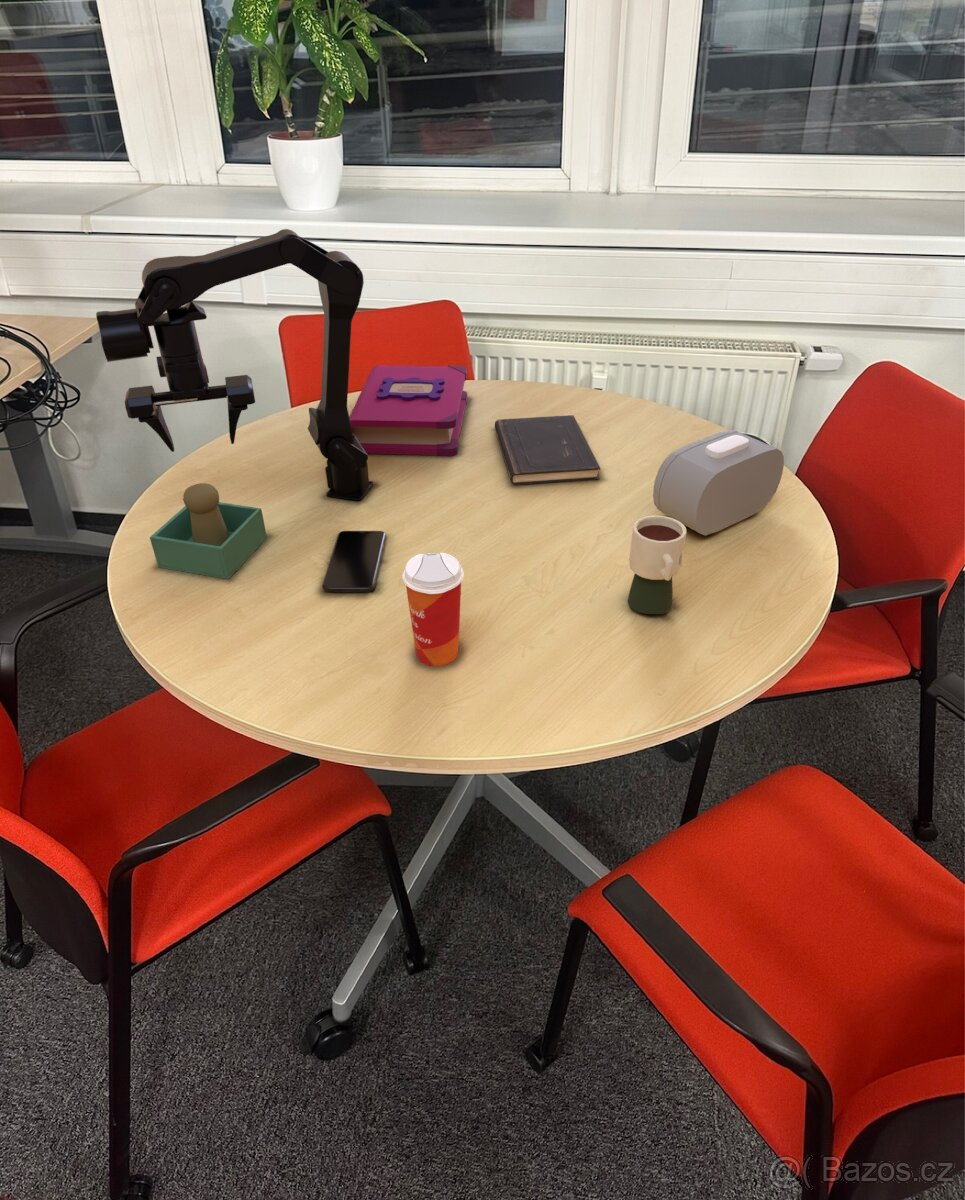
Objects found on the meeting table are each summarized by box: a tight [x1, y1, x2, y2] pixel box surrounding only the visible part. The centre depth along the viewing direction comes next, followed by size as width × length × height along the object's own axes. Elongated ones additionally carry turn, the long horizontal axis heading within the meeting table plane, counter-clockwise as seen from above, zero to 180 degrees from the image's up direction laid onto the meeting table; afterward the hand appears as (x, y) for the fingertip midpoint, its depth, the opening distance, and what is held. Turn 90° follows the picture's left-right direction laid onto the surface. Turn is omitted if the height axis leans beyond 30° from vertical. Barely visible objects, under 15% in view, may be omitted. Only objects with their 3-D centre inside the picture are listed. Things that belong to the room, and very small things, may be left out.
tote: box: [149, 501, 268, 580], centre depth 129 cm, size 12×12×6 cm
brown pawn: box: [182, 482, 230, 546], centre depth 127 cm, size 6×6×11 cm
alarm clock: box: [652, 428, 785, 537], centre depth 135 cm, size 21×10×13 cm, turn 126°
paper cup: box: [401, 551, 465, 667], centre depth 107 cm, size 8×8×14 cm
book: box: [349, 364, 468, 457], centre depth 166 cm, size 21×28×8 cm
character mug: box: [627, 515, 687, 615], centre depth 115 cm, size 11×7×13 cm, turn 8°
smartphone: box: [321, 530, 387, 593], centre depth 128 cm, size 8×1×16 cm
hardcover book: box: [494, 414, 601, 486], centre depth 157 cm, size 16×23×2 cm
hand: (203, 446), depth 132 cm, fingers open, 9 cm apart
